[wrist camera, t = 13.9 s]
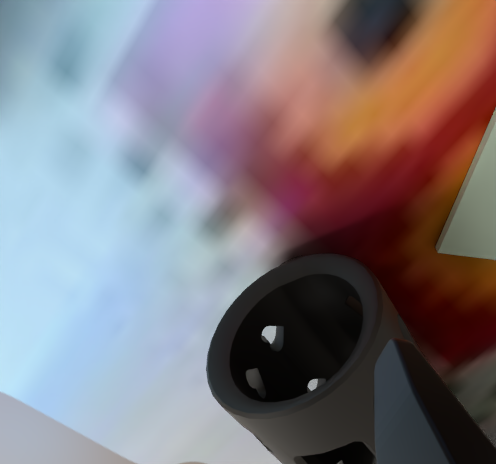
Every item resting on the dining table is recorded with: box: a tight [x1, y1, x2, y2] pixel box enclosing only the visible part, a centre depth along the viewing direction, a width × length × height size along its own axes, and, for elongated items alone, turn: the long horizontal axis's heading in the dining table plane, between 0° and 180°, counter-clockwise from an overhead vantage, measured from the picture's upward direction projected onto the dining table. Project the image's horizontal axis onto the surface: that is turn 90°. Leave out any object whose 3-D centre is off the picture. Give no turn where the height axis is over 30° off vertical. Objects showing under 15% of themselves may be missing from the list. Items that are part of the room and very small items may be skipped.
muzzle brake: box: [206, 253, 427, 464], centre depth 27 cm, size 10×28×10 cm, turn 32°
